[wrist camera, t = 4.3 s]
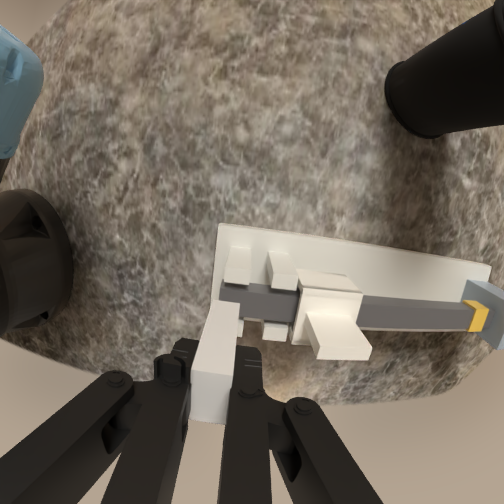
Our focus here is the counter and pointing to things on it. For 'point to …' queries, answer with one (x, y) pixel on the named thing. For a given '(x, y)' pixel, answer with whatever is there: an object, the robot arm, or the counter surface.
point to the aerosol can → (453, 79)
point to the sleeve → (329, 317)
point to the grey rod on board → (362, 275)
